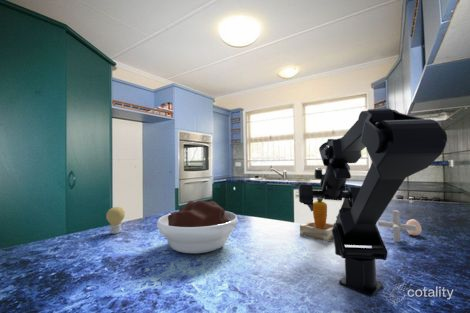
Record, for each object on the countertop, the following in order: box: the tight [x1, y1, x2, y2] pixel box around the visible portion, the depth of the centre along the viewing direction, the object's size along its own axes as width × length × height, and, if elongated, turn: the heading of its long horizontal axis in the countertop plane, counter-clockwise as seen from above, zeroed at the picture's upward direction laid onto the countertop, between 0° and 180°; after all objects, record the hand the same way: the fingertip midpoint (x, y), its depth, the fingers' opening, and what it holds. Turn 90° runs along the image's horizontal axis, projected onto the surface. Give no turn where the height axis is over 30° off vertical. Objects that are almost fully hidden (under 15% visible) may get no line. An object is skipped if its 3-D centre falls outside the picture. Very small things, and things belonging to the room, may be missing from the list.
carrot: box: [312, 198, 328, 229], centre depth 80 cm, size 5×5×15 cm
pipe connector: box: [377, 209, 416, 243], centre depth 73 cm, size 10×10×10 cm
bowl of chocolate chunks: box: [156, 199, 239, 254], centre depth 70 cm, size 25×25×15 cm
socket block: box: [299, 220, 334, 243], centre depth 80 cm, size 10×10×4 cm
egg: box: [405, 218, 422, 236], centre depth 79 cm, size 4×4×6 cm
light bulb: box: [105, 206, 126, 235], centre depth 86 cm, size 6×6×10 cm
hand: (326, 211), depth 72 cm, fingers open, 9 cm apart
